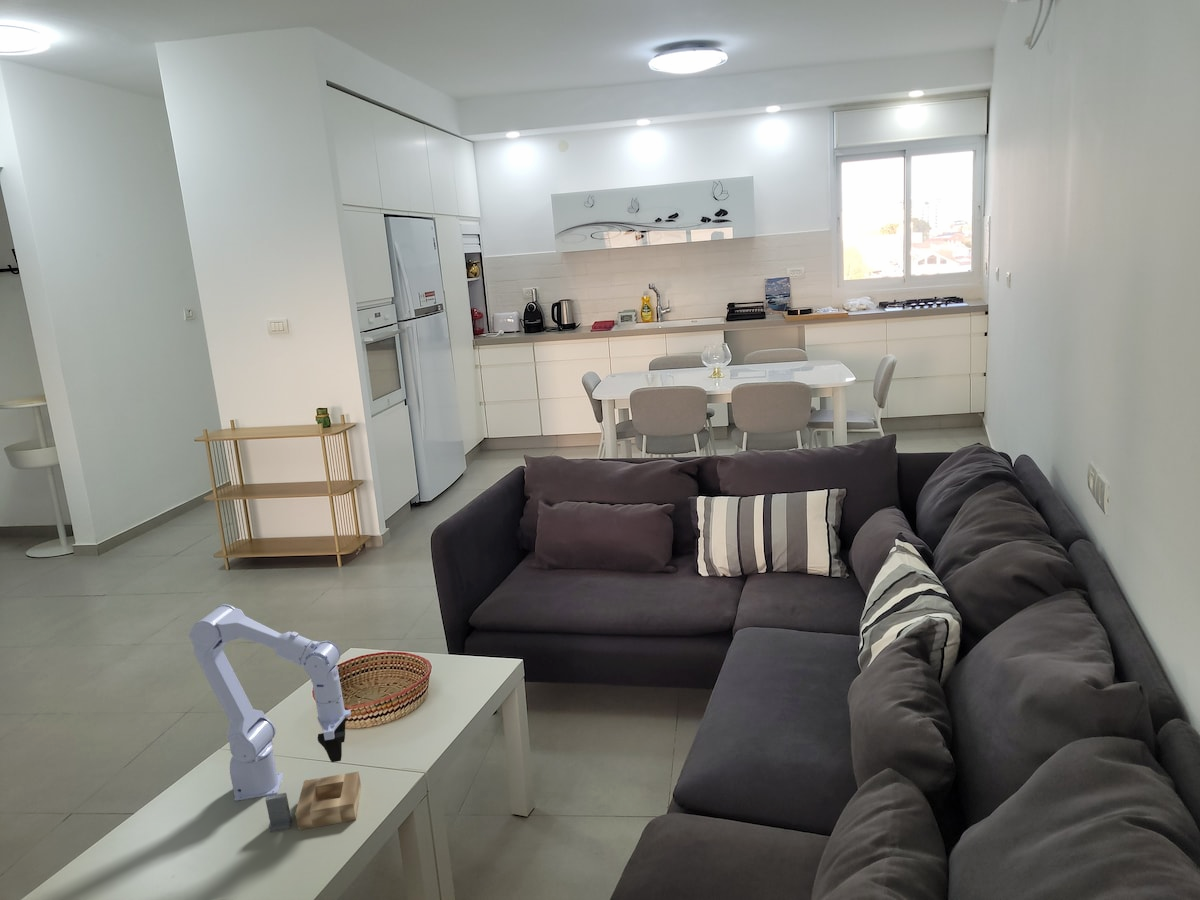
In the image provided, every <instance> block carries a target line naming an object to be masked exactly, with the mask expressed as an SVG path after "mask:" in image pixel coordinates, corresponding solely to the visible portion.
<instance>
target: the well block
mask: <svg viewBox="0 0 1200 900" xmlns="http://www.w3.org/2000/svg"><path fill="white" fill-rule="evenodd" d="M361 791H362V783H361V778H360V773H359V771H355V772H347V773H342V774H338V775H337V774H335V775H329V776H324V777H319V778H313V779H307V780H303V782H302V787H301V790H300V795H299V799H298V802H297V806H296V809H295V813H294V814H295V820H296V823H297V829H298V831H299V830H308V829H311V828H312V829H313V828H317V827H323V826H324V827H325V826H329V825H335V824H339V823H345V822H353V821H357V816H358V810H359V803H360V798H361Z"/></svg>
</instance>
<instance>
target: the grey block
mask: <svg viewBox="0 0 1200 900" xmlns="http://www.w3.org/2000/svg"><path fill="white" fill-rule="evenodd" d="M265 804H266V809H267V813H268V819H269V823H270V825H269V833H274V832H280V831H285V830H290V829H291V826H292V822H293V817H294V815H293V813H291V810H290V806H289V805H290V804H289V799H288V795H287V792H282V793H277V794H273V795H267V796H265Z"/></svg>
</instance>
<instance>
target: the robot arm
mask: <svg viewBox="0 0 1200 900" xmlns="http://www.w3.org/2000/svg"><path fill="white" fill-rule="evenodd" d="M188 637H189V638H190V640H191V642H192V645H193V654H194V656H195V659H196V661H197V662H198V664H199V666H200V668H201V670H202V672H203V674H204V676H205V678H206V680H207V681H208V683H209V685H210V687H211V689H212V692H213V693H214V695H215V697H216V699H217V700H218V703H219V704H220V706H221V708H222V711H223V712H224V714H225V716H226V717H227V720H228V722H229V725H228V729H227V733H226V739H227V741H228V743H229V751H230V753H231V755H232V756H231V758H230V762H229V774H230V781H231V784H232V785H231V786H232V789H233V793H234V794H233V796H234V798H233V799H234V801H235V802H237V801H244V800H249V799H254V798H255V799H256V798H259V797H261V798H262V797H267V796H270V795H276V794H279V793H278V792H279V789H280V787H281V783H282V779H283V777H284V773H283V772H278V770H277V764H276V759H275V756H274V749H273V744H274V743H273V738H275V735H276V732H277V731H276V727H275V724H274V723H273V722H272V721H271V719H269V718H268V717H267V716H266V715H265V713H264V711H263V710H259V709H254V707H253V706H252V704H251V702H250V699H249V697H248V696H247V694H246V692H245V690H244V688H243V686H242V684H241V683H240V680H239V679H238V677H237V675H236V673H235V671H234V669H233V667H232V665H231V663H230V662H229V660H228V658H227V656H226V653H225V652H224V648H225V646H226V643H228V642H231V641H234V640H237V639H244V640H246V641H250V642H252V643H255V644H259V645H262V646H265V647H268V648H272V649H274V652H275V654H276V656H277V657H278V658H281V659H284V660H286V661H289V662H291V663H294V664H295V665H297V666H301V667H303V669H304V671H305V672H306V674H307V675H308V676H309V678H310V681H311V683H312V688H313V694H314V700H315V705H316V711H317V721H318V723H319V726H320V727H321V729H322V731H323V733H322V732H320V733H318V734H317V741H318V743H319V744H320V745H321V746H322V747H323V748H324V750H325V752H326V754H327V757H328V758H329V760H330V762H331V763H336V762H341V761H342V757H343V756H342V755H343V753H342V751H343V749H342V748H343V747H342V746H343V744H342V743H345V739H346V722H347V718H348V717H351V715H352V712H351V711H352V710H350V709H349V708H348V707H345V703H344V697H343V692H342V685H341V681H340V680H341V679H340V675H339V668H338V663H339V661H340V659H341V652H340V650H341V649H339V647H338V646H337V645H336V643H334V642H332V641H330V640H322V641H316V640H312V639H309V638H307V637H304V636H302V635H300V634H299V632H297V631H286V632H284V633H281V632H278V631H276V630H275V629H272V628H270V627H268V626H267V625H264V624H262V623H260V622H258V621H256V620H254V619H252V618H250V617H249V616H246V614H244V612H243V610H242V609H240V608H237V607H234V605H231V604H228V603H223V604H220V605H218V606H217V607H215V609H214V610H213V611H211V612H210V613H208V614H207V615H205V616H204V617H203V618H202V619H201V620H199V621H196V623H194V624H193V625H192V628H191V630H190V631H189V634H188Z"/></svg>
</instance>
